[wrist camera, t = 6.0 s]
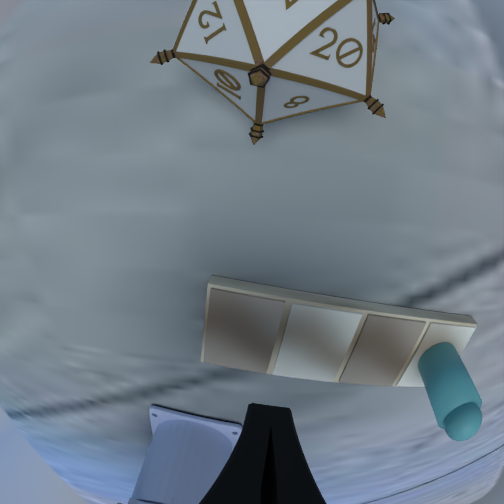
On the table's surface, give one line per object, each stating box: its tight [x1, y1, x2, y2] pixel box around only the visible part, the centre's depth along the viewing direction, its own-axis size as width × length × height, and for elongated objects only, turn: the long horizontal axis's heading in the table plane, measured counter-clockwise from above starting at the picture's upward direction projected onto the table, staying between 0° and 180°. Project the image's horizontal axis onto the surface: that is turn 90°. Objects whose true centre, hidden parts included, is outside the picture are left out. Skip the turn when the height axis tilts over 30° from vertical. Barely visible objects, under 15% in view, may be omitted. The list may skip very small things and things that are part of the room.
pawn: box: [418, 343, 482, 441], centre depth 15 cm, size 3×3×7 cm
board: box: [201, 275, 477, 387], centre depth 18 cm, size 6×18×1 cm, turn 81°
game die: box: [150, 0, 395, 145], centre depth 9 cm, size 9×8×10 cm
